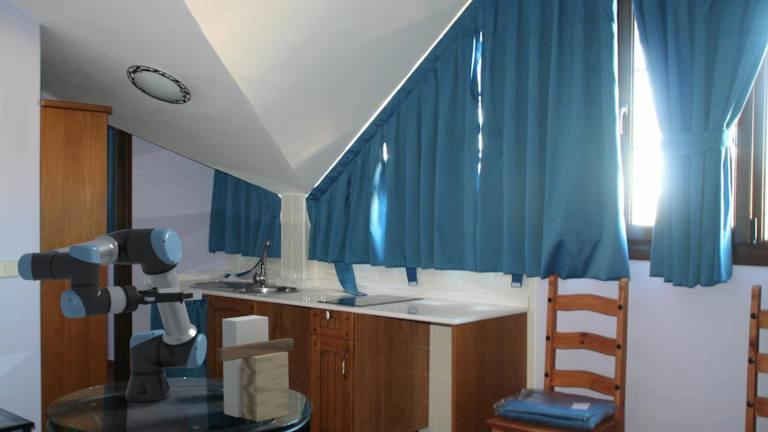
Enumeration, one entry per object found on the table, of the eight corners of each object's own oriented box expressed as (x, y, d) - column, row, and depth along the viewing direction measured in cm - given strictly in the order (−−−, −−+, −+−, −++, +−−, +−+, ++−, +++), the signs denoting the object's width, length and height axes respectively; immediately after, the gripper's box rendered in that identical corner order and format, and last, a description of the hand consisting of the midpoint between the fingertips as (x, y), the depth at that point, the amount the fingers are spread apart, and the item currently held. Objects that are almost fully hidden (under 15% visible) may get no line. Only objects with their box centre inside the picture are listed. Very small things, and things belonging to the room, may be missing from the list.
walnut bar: (216, 360, 218) (216, 348, 218) (287, 348, 236) (287, 337, 236) (222, 361, 216) (222, 349, 216) (293, 349, 234) (293, 338, 234)
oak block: (242, 417, 226) (241, 354, 227) (274, 410, 235) (273, 349, 235) (257, 422, 221) (255, 357, 221) (289, 414, 229) (287, 352, 229)
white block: (224, 413, 232) (222, 319, 233) (255, 406, 241) (254, 315, 241) (237, 417, 226) (236, 321, 227) (269, 410, 235) (268, 317, 235)
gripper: (102, 309, 212) (169, 302, 227) (141, 316, 194) (211, 308, 209) (101, 284, 212) (169, 278, 227) (140, 288, 194) (211, 282, 209)
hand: (189, 293), depth 218 cm, fingers open, 13 cm apart
